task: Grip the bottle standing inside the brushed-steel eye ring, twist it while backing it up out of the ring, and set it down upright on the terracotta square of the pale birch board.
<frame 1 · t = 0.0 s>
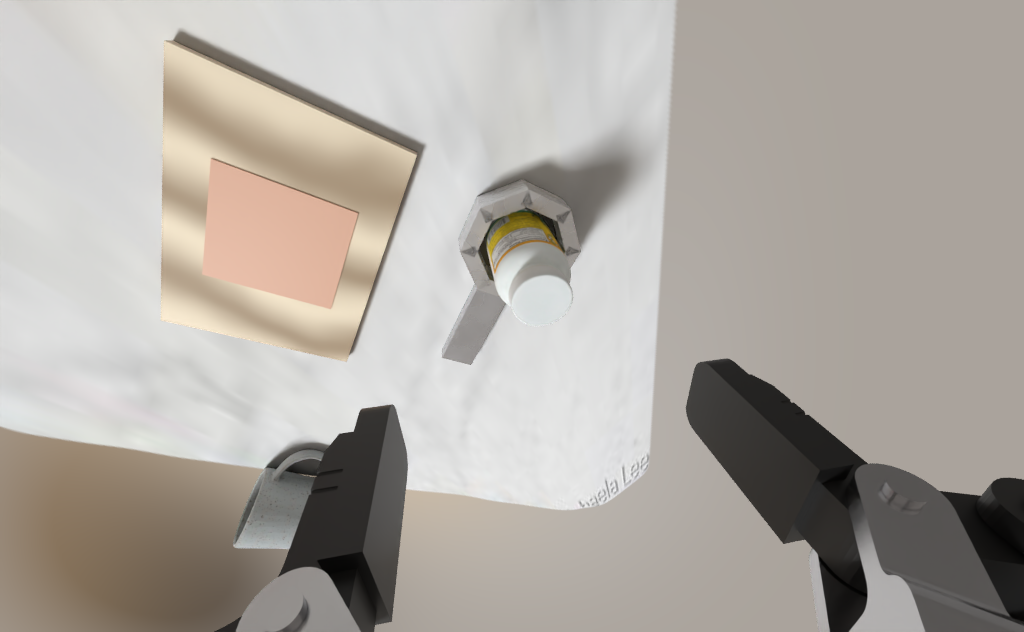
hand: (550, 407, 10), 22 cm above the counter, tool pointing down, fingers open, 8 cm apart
supplement bottle: (516, 237, 32), resting in eye ring
ceramic mug: (299, 471, 45), on the counter
birch board: (283, 239, 28), on the counter
eye ring: (516, 238, 31), on the counter
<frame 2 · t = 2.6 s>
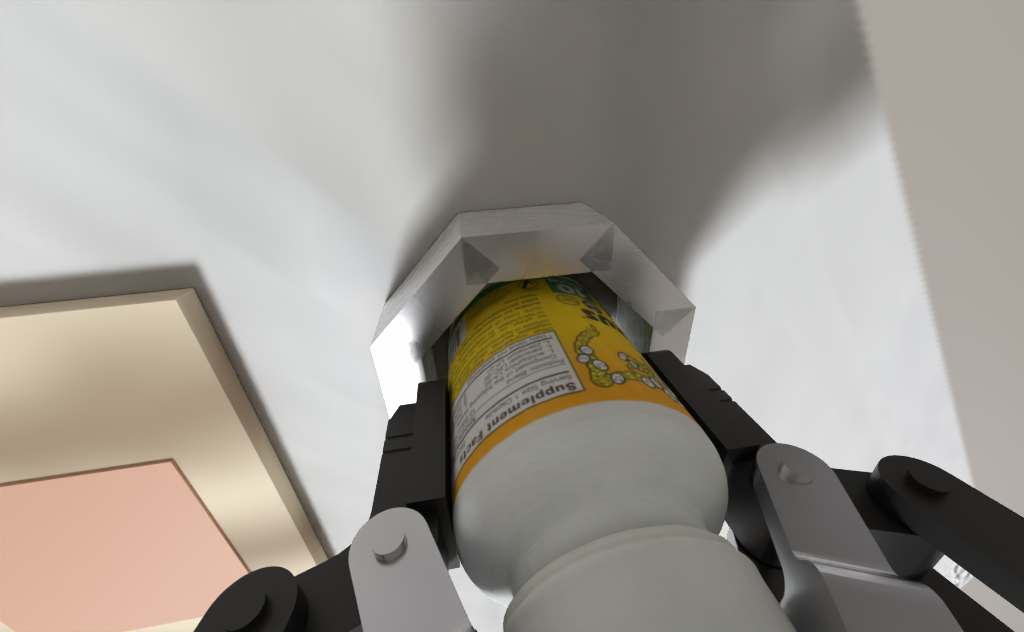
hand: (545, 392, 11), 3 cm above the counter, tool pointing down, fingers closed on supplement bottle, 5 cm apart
supplement bottle: (525, 333, 13), resting in eye ring, touching gripper
birch board: (115, 541, 15), on the counter
eye ring: (526, 336, 13), on the counter
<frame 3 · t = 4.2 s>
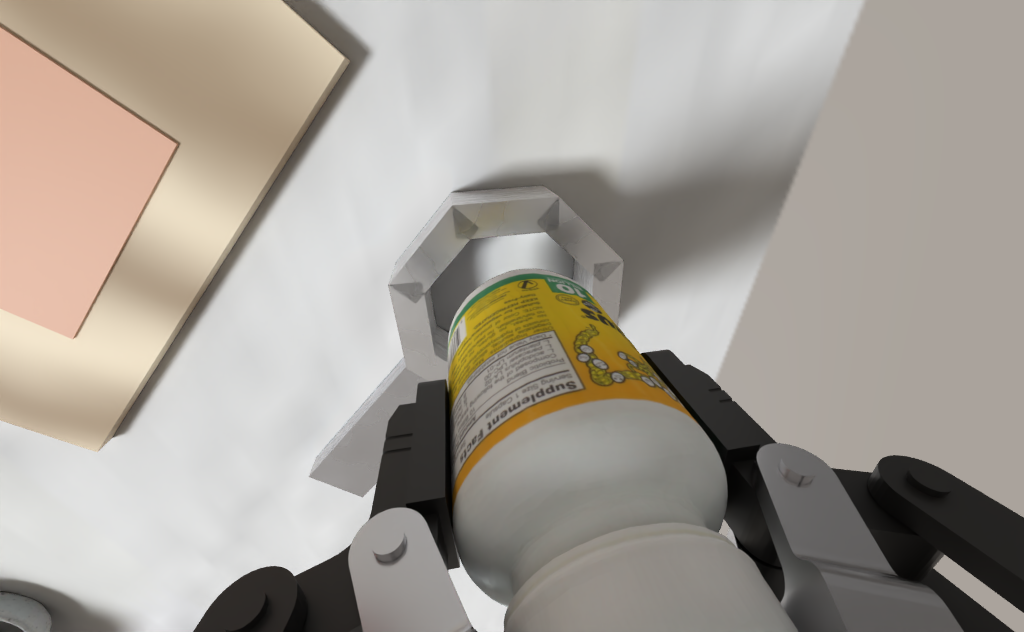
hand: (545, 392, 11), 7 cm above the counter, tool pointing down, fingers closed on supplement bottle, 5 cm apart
supplement bottle: (524, 333, 13), point 4 cm above the counter, touching gripper
eye ring: (504, 290, 17), on the counter
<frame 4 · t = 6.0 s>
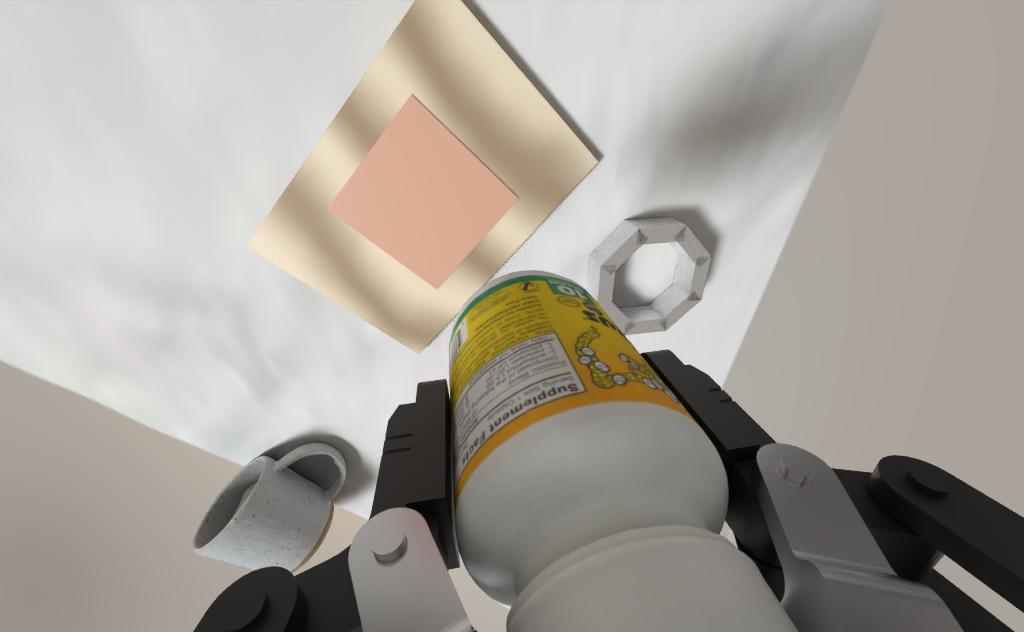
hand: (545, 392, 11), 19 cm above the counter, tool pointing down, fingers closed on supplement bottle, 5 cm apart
supplement bottle: (525, 334, 13), point 16 cm above the counter, touching gripper
ceramic mug: (295, 471, 36), on the counter
birch board: (426, 201, 26), on the counter
eye ring: (639, 271, 31), on the counter
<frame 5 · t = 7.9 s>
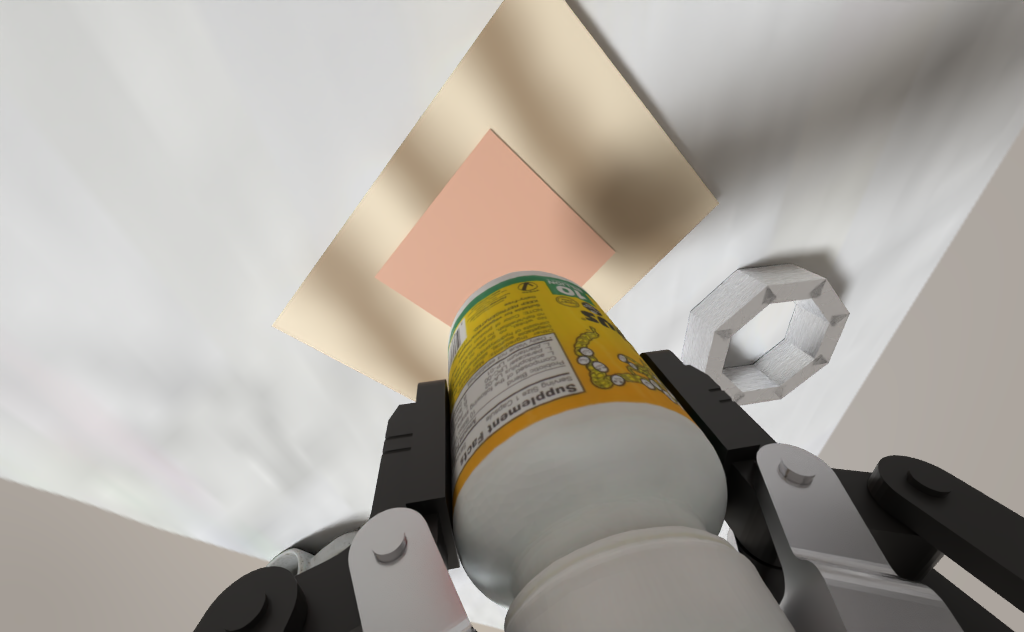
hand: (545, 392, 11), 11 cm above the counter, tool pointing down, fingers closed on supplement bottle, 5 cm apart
supplement bottle: (524, 335, 13), point 8 cm above the counter, touching gripper
ceramic mug: (331, 558, 31), on the counter
birch board: (497, 258, 20), on the counter
eye ring: (746, 328, 26), on the counter
when the fingers open (5 cm above the counter, at t = 9.5 s): supplement bottle drops 1 cm, resting on birch board.
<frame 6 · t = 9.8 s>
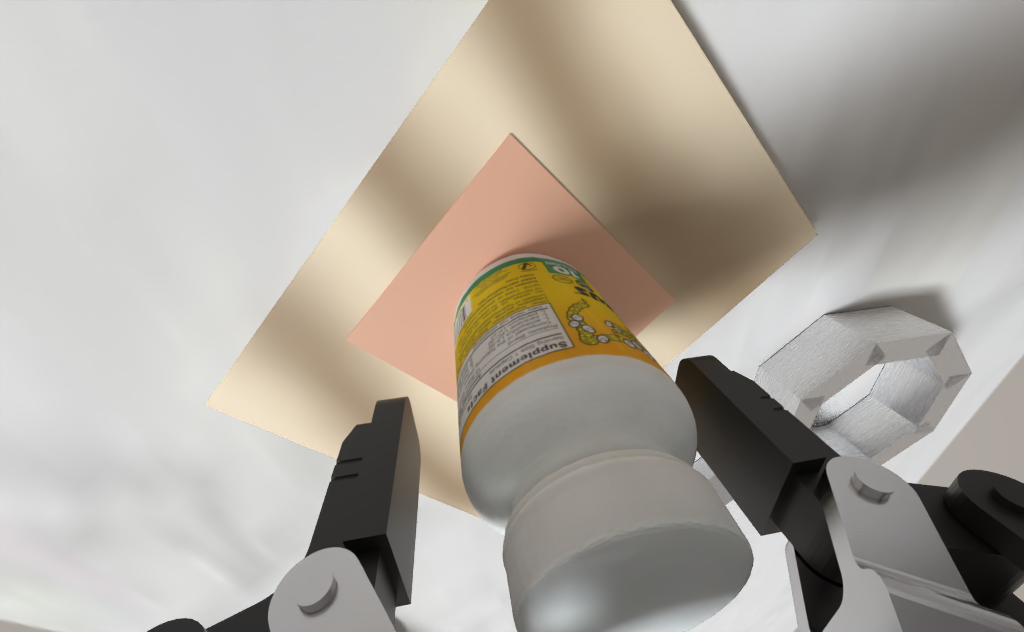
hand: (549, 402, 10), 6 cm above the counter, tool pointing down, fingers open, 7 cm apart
supplement bottle: (524, 314, 14), point 1 cm above the counter, touching birch board
birch board: (514, 308, 15), on the counter
eye ring: (826, 383, 20), on the counter
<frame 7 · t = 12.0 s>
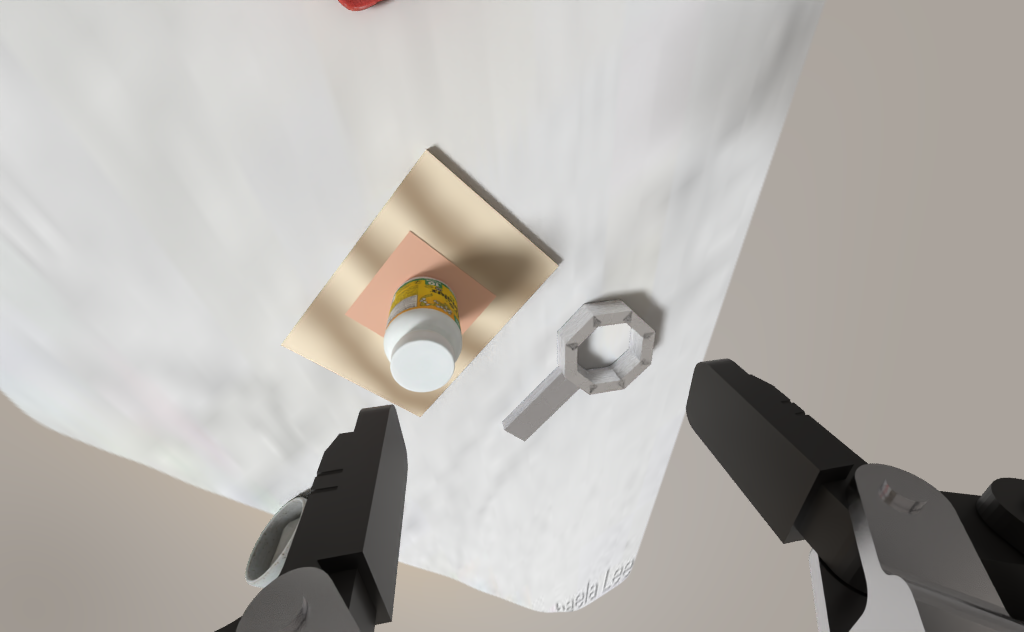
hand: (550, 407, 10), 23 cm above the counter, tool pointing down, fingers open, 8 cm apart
supplement bottle: (425, 303, 32), point 1 cm above the counter, touching birch board
ceramic mug: (325, 508, 42), on the counter
birch board: (423, 301, 33), on the counter
eye ring: (599, 341, 38), on the counter
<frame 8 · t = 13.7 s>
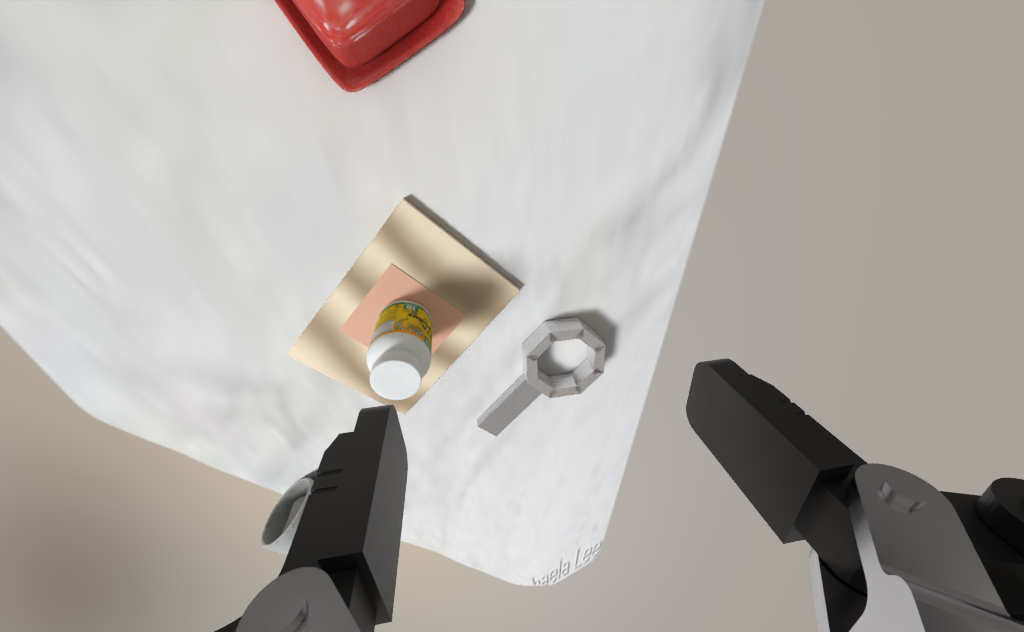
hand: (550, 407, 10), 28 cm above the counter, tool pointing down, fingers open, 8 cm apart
supplement bottle: (406, 321, 38), point 1 cm above the counter, touching birch board
ceramic mug: (328, 487, 49), on the counter
birch board: (404, 318, 39), on the counter
eye ring: (560, 352, 44), on the counter
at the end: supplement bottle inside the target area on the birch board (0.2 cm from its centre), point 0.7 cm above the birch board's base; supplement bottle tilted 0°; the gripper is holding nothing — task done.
